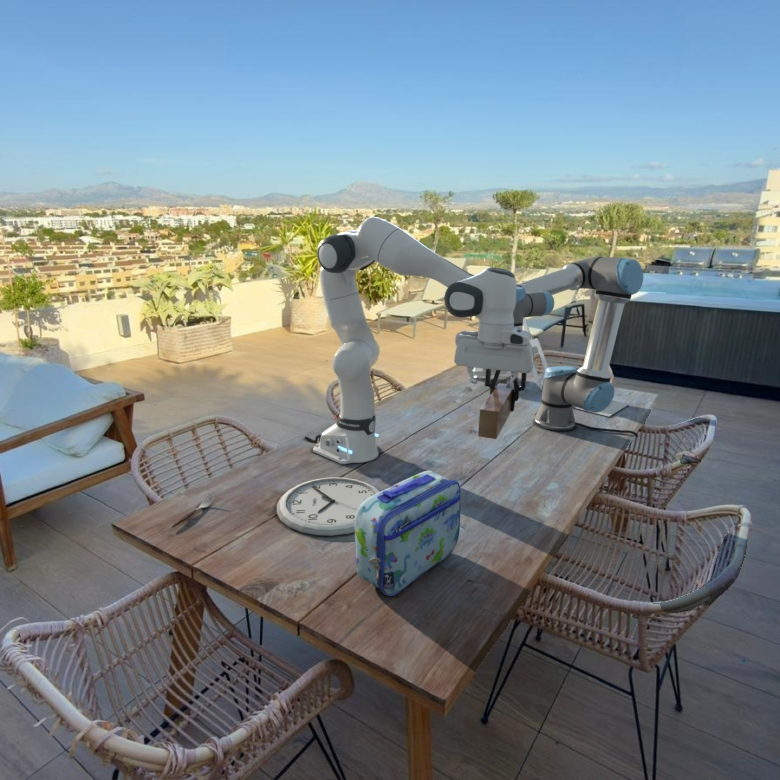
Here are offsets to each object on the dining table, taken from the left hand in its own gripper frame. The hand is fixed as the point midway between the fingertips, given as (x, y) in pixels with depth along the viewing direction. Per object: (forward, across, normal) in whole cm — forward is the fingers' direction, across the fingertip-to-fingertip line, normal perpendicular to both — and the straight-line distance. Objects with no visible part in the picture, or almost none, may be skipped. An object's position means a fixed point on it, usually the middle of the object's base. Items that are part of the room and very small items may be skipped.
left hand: (491, 385), depth 138 cm
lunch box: (+34, -8, -38) cm, 52 cm away
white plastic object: (+34, -14, +118) cm, 123 cm away
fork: (+34, -68, -39) cm, 85 cm away
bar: (+17, -1, +18) cm, 25 cm away
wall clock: (+34, -37, -20) cm, 54 cm away
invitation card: (+34, +30, +100) cm, 110 cm away
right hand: (+16, -1, +29) cm, 33 cm away
